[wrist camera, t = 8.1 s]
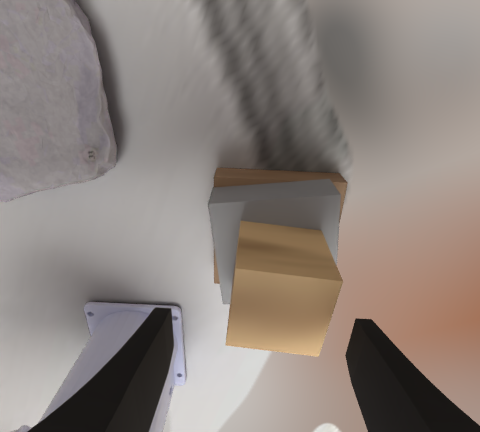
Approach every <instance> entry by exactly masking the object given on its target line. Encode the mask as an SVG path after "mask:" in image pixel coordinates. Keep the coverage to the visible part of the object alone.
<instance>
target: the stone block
mask: <svg viewBox="0 0 480 432" xmlns="http://www.w3.org/2000/svg"><path fill="white" fill-rule="evenodd" d="M116 156H117V145H116V143H115V138H114V133H113V127H112V124H111V120H110V116H109V112H108V103H107V98H106V95H105V91H104V87H103V82H102V69H101V65H100V62H99V58H98V52H97V47H96V43H95V41H94V39H93V37H92V32H91V27H90V24H89V19H88V18H87V16H86V15H85V14H84V12H83V11H82V9H81V8H80V7H79V5H78V4H77V3H76V1H75V0H0V201H3V202H8V201H11V200H13V199H14V198H18V197H21V196H25V195H28V194H31V193H34V192H36V191H41V190H46V189H50V188H57V187H61V186H65V185H68V184H75V183H81V182H86V181H89V180H93V179H96V178H98V177H100V176H103V175H104V174H105V173H106V172H108V171H109V170H110V169H111V168H113V167H115V165H116V162H117V161H116Z"/></svg>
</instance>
